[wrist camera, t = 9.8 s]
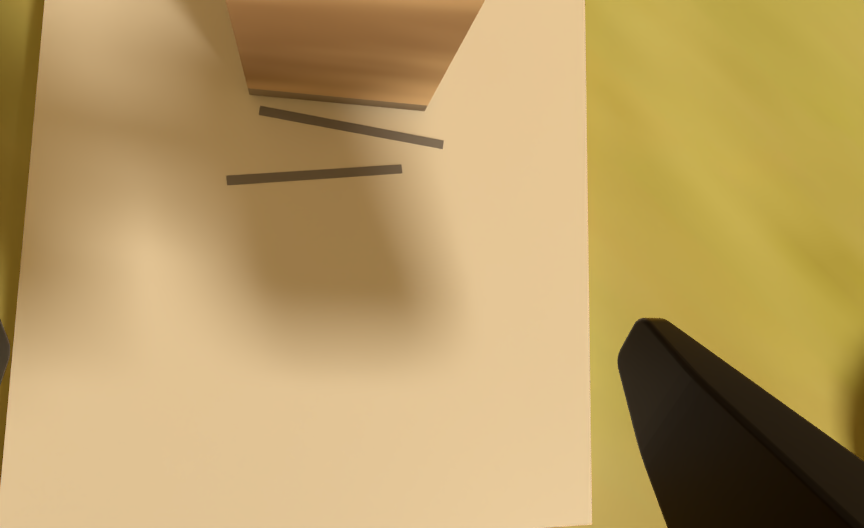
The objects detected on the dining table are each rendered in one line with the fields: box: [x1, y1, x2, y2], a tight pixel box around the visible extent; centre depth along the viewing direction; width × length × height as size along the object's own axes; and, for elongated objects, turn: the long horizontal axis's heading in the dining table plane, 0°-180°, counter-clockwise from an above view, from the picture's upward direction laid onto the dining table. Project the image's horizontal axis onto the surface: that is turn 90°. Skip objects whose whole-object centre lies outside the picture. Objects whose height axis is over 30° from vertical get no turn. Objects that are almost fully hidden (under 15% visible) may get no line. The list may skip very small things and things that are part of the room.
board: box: [0, 0, 592, 528], centre depth 15 cm, size 22×14×1 cm, turn 179°
